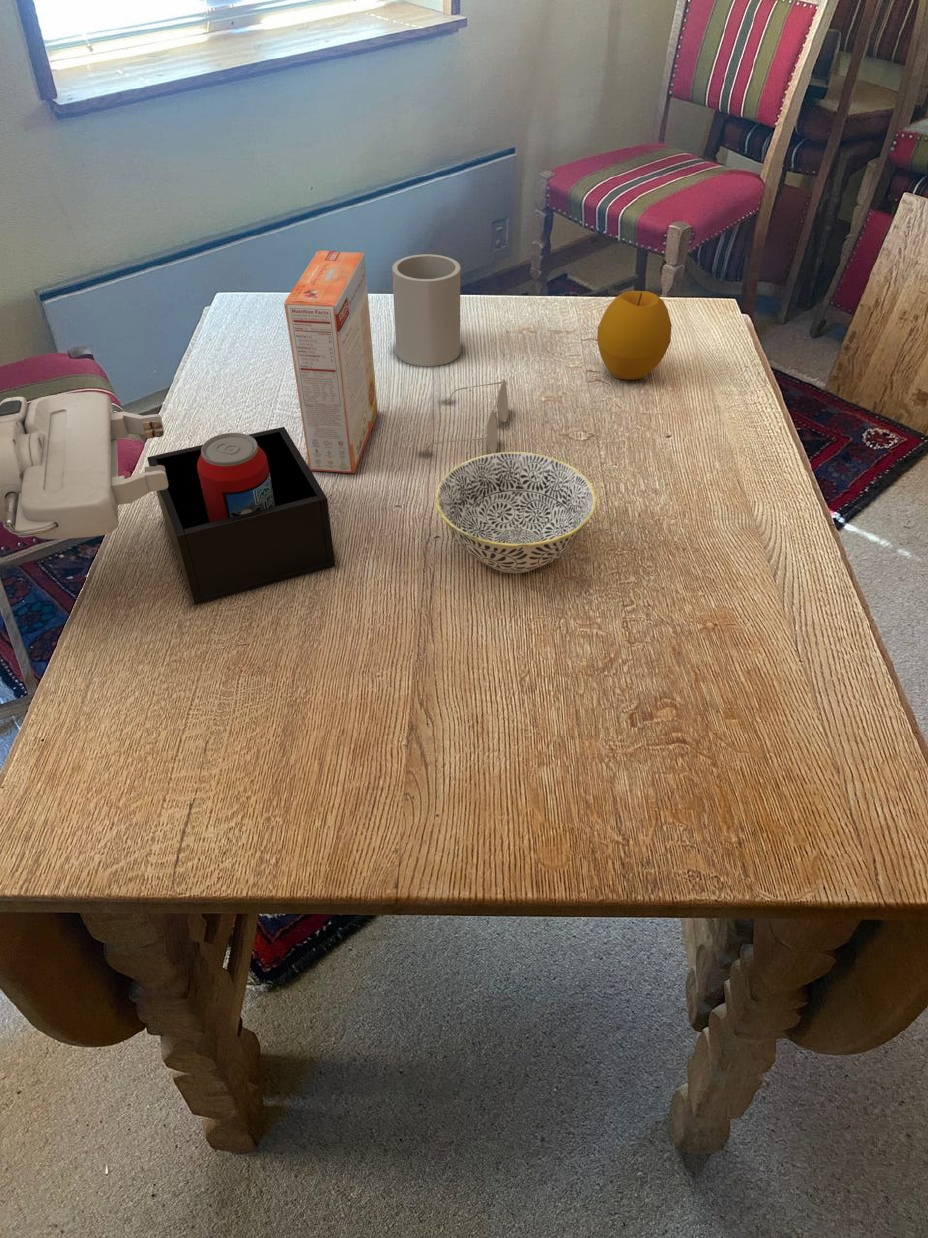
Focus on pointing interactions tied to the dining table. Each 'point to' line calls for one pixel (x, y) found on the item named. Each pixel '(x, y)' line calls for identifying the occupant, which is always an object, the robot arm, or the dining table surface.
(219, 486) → the beverage can
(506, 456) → the bowl
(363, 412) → the cracker box
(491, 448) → the sunglasses
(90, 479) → the robot arm
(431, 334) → the cup
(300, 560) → the black open box
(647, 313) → the apple
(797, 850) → the dining table surface
